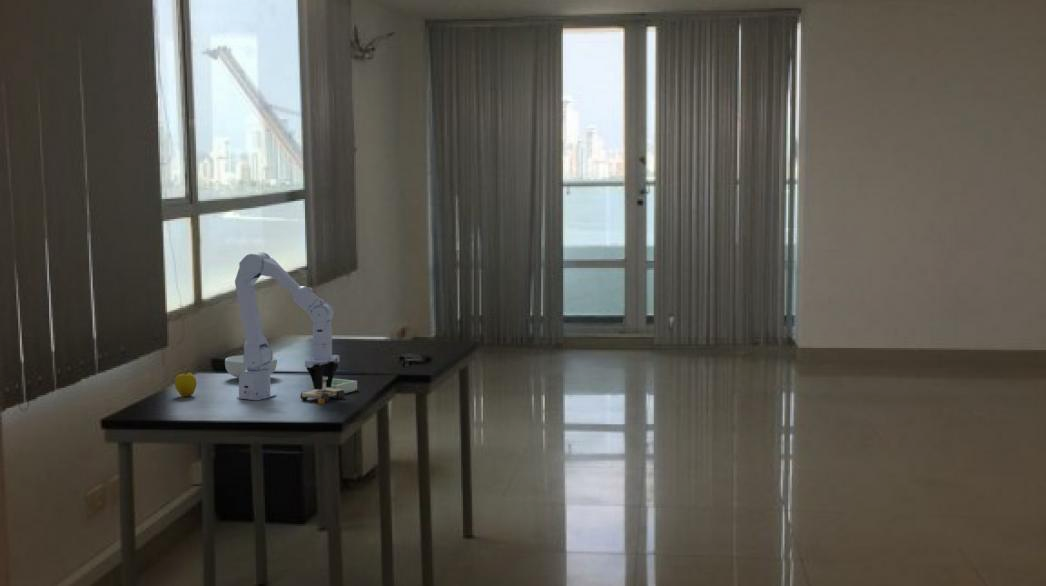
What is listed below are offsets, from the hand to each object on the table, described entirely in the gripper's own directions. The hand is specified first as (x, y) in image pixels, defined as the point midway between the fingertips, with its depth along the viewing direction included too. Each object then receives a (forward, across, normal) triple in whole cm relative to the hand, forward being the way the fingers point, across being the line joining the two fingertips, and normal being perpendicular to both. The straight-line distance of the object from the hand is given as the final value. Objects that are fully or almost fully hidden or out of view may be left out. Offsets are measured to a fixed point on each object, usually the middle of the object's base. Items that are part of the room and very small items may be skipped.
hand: (322, 388), depth 357 cm
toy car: (+3, 0, 0) cm, 3 cm away
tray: (+3, +13, +5) cm, 14 cm away
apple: (+4, -17, +39) cm, 43 cm away
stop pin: (+3, 0, 0) cm, 3 cm away
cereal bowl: (+4, +19, +44) cm, 48 cm away
